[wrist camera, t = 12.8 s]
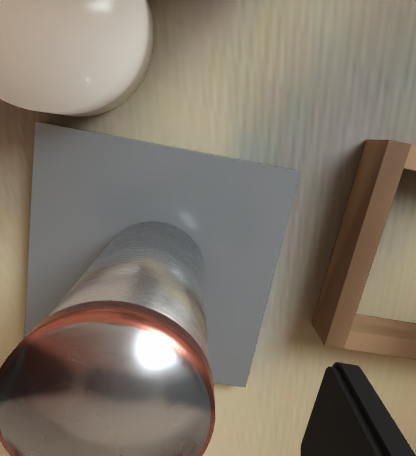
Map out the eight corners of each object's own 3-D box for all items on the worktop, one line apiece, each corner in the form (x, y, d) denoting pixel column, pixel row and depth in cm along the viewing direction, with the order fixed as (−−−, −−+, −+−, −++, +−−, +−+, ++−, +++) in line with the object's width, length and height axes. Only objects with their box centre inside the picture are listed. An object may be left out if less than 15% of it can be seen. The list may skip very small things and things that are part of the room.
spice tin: (215, 229, 16) (235, 336, 7) (196, 324, 17) (194, 509, 9) (106, 210, 16) (-7, 301, 7) (96, 309, 17) (-11, 487, 8)
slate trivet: (295, 170, 16) (299, 171, 16) (243, 377, 19) (245, 387, 19) (43, 122, 15) (35, 121, 15) (30, 347, 18) (23, 356, 18)
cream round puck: (156, -55, 14) (144, -115, 10) (152, 122, 16) (140, 119, 12) (-19, -73, 13) (-90, -141, 10) (-2, 111, 15) (-58, 104, 12)
